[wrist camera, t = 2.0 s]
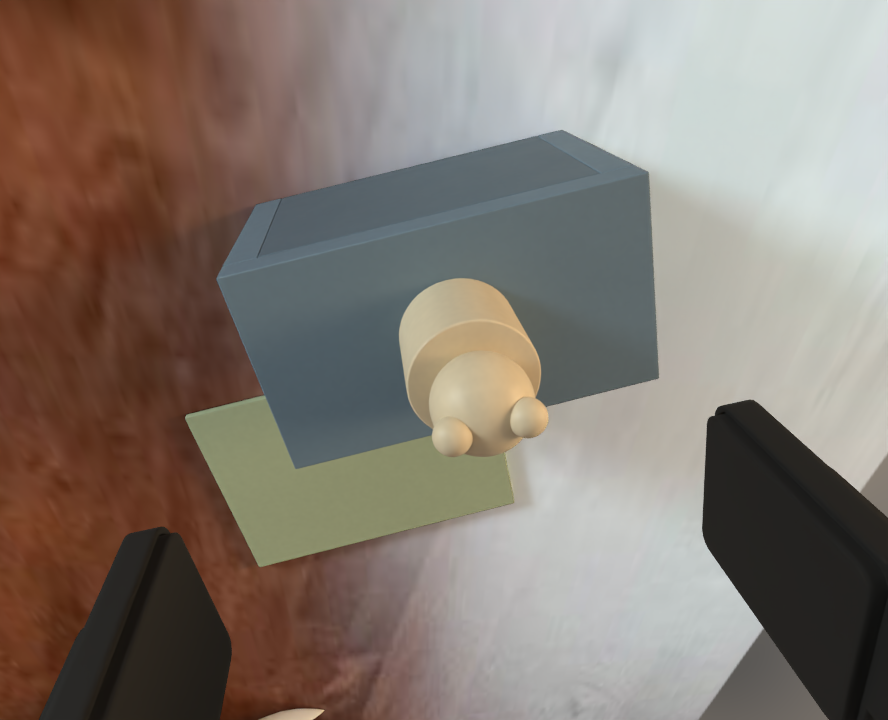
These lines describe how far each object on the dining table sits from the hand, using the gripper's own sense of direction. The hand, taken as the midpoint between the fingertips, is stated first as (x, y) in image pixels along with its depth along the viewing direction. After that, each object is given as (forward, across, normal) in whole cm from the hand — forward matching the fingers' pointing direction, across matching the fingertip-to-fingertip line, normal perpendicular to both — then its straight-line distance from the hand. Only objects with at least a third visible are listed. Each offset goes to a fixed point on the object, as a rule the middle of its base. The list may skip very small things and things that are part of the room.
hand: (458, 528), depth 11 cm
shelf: (+28, -2, +4) cm, 29 cm away
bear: (+16, -2, +4) cm, 17 cm away
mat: (+29, +5, +19) cm, 35 cm away
